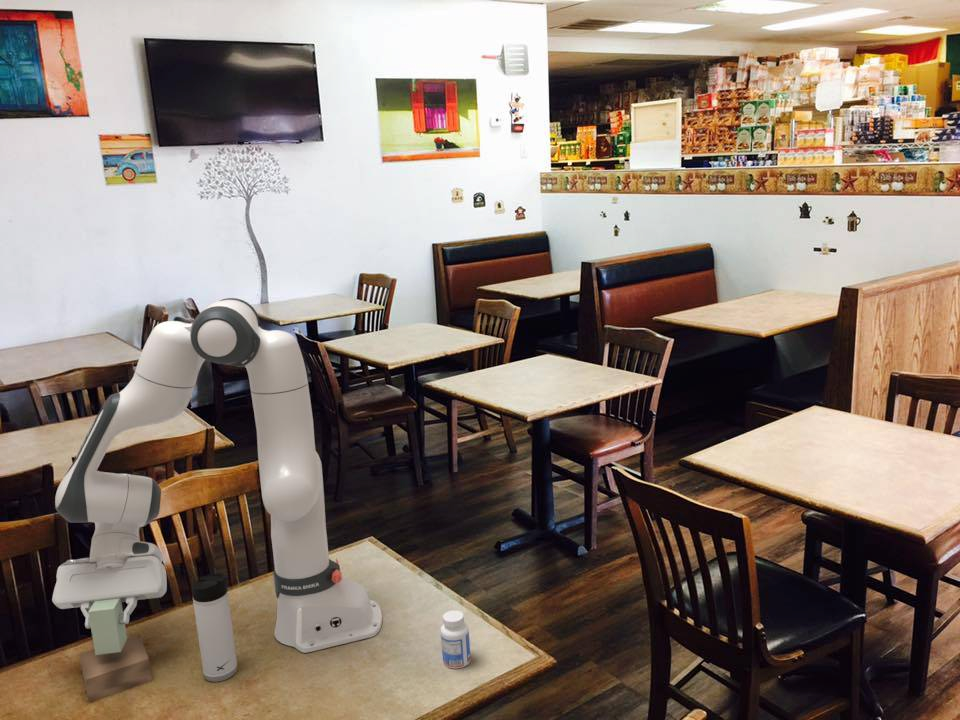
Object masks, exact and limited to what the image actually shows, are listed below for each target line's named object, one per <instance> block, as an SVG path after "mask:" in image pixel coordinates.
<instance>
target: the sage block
mask: <svg viewBox="0 0 960 720" xmlns="http://www.w3.org/2000/svg"><path fill="white" fill-rule="evenodd" d="M123 612H124V610H123V602H121V598H114V599H106V600H98V601H95V602H94V603H93V605H92V607H91V608H90V610H89V611H88V614H89V620H90V626H91V628H90V630H91V636H92V637H91V638H92V642H93V647H94V648H93V650H94V649H95V655H101V654H108V653H116V652H121V650H122V648H123V646H124V644H125V642H126V641H127V639H128V635H127V628H126V624H121V625H120V624H119V623H118V619H119V613H123Z"/></svg>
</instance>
